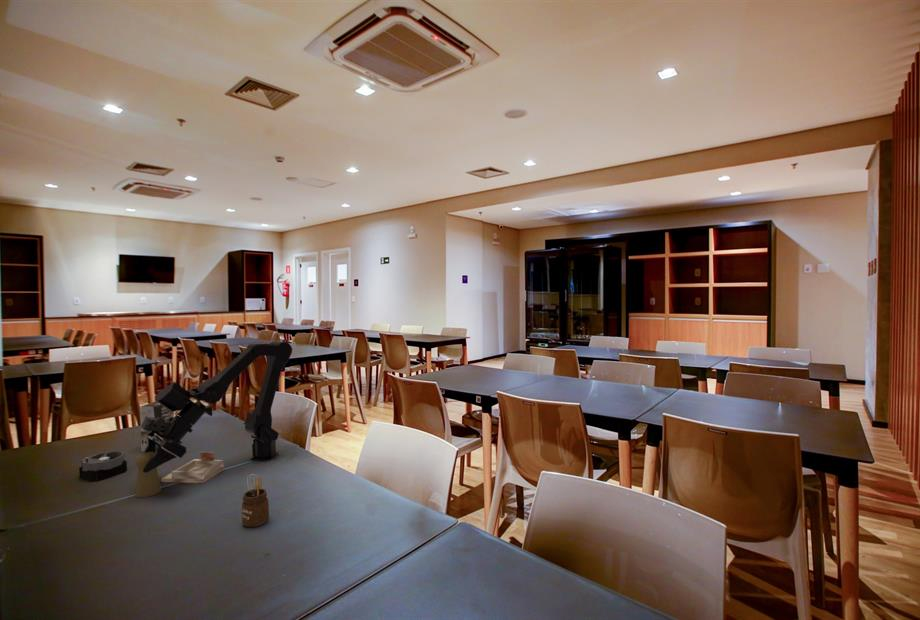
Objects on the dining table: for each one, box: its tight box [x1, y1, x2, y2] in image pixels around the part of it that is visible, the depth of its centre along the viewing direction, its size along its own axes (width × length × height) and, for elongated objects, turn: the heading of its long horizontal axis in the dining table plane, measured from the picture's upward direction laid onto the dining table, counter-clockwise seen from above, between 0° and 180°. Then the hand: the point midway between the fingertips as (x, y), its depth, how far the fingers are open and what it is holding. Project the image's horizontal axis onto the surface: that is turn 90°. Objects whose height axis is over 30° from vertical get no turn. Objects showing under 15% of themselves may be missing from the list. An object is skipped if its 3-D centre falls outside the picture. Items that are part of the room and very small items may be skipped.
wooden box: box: [160, 451, 225, 484], centre depth 133 cm, size 13×10×6 cm
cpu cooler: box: [78, 451, 128, 483], centre depth 135 cm, size 10×6×10 cm
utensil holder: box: [241, 473, 270, 528], centre depth 105 cm, size 6×6×12 cm
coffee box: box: [139, 400, 175, 452], centre depth 158 cm, size 9×6×16 cm
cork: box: [134, 452, 162, 498], centre depth 122 cm, size 6×6×11 cm
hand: (141, 468), depth 121 cm, fingers open, 6 cm apart
